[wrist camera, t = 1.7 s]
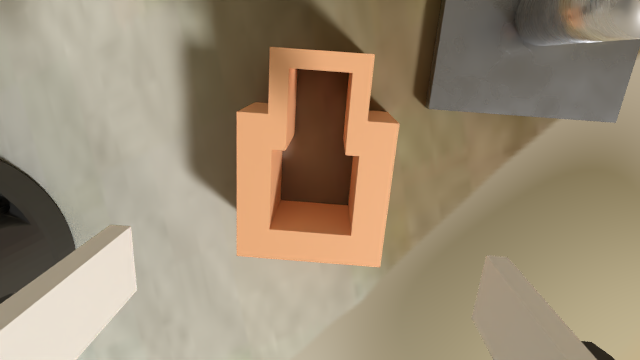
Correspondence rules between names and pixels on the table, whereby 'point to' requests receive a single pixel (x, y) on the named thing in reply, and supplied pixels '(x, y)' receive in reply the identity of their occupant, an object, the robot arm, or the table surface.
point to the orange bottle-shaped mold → (266, 169)
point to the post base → (535, 57)
